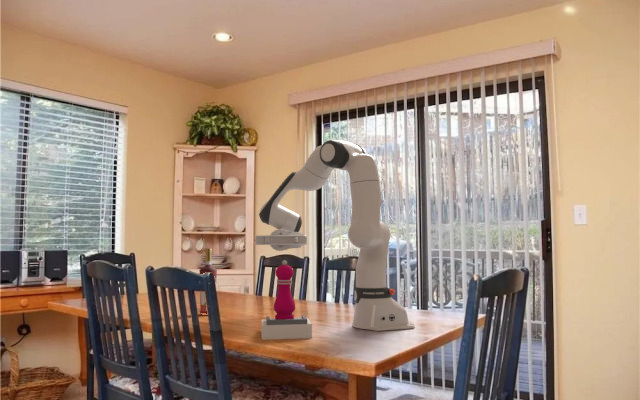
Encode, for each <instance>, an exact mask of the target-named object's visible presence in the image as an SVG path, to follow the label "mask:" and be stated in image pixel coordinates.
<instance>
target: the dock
mask: <svg viewBox="0 0 640 400" xmlns="http://www.w3.org/2000/svg"><path fill="white" fill-rule="evenodd" d="M260 326H261V327H260V329H261V332H260V333H261V340H262V341H264V340H265V341H268V340H289V339H290V340H294V339H299V340H300V339H313V323H312V322H311V321H310V319H309V318H307V317H306V315H305V314H301V317H294V319H282V320H275V318H270V316H269V315H267V316H265V319H261V324H260Z"/></svg>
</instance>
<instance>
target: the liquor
mask: <svg viewBox="0 0 640 400" xmlns="http://www.w3.org/2000/svg"><path fill="white" fill-rule="evenodd" d="M212 249H213V248H205V252H204V254H205V262H204V267H202V268H200V269H199V275H200V274H203V273H205V272H212V273H213V274H214V276H215V282H216V283H217V276H218V275H217V272H218V269H217V268H215V267H214V266H213V264H212V261H213V260H212V252H213V251H212ZM199 294H200V295H199V297H200V298H199V300H200V307H199V308H200V309H199V312H198V313H200V314H201V313H206V314H207V311H206V301H205V293H204V292H200V291H199Z"/></svg>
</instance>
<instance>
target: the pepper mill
mask: <svg viewBox="0 0 640 400" xmlns="http://www.w3.org/2000/svg"><path fill="white" fill-rule="evenodd" d="M275 276H276V278H277V279H276V281H277V282H276V284H277V286H278V291H277V295H276V297H275V299H274V303H273V311H274V312H275V315H274V319H275V320H282V319H294V318H295V315H294V314H293V313H294V311H296V303H295V299H294V298H293V295H292V291H291V290H292V289H291V287H292V286H291V285H292V283H293V282H292V281H293V279H292V277H293V276H294V269H293V267H292V266H291V265H289V264H288V261H287V260H285V259H283V260H282V261H281V265H279V266H278V267H277V268H276V269H275Z"/></svg>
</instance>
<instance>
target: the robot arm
mask: <svg viewBox="0 0 640 400" xmlns="http://www.w3.org/2000/svg"><path fill="white" fill-rule="evenodd" d="M334 169H338V170H341V171H346V172H347V173H348V176H349V184H350V187H349V188H350V195H351V216H350V217H351V218H350V226H349V228H348V234H347V235H348V240H349V241H350V243H351V244H353V246H354V247H356V248H358V249H359V253H358V258H357V262H356V263H355V287H354V302H355V304H354V305H355V306H354V307H355V309H354V314H353V320H352V324H351V327H353V328H356V329H362V330H371V331H375V332H376V331H377V332H381V331H393V330H395V331H396V330H406V329H407V330H408V329H414V328H415V323H414V322H412V321H410V320H409V317H408V316H409V315H408V313H407V310H406V309H405V307H404V306H402V305H401V304H400V303H399V302H397V300H396V299H393V297H392V296H394V295H395V293H396V290H395V288H390V287H388V286H387V259H388V252H389V244H390V240H391V230H390V228H389V226H388V225H387V224H386V223H385V222H384V221H381V220H380V218H381V217H380V216H381V207H382V203H383V202H382V194H381V193H382V192H381V184H380V175H379V170H378V166H377V163H376V160H375V158H374V157H373V156H372V155H370V154H368V153H367V151H366V149H365V148H364V147H362V146H361V145H359V144H356V143H352V142H349V141H347V140H339V139H329V140H326V141H325V142H323V144H322V145H319V146H317V147H316V148H315V149H314V150H313V151H312V152H311V154H309V157H308V158H307V160H306V161H305V163H304V165H303V167H301V169H299V170H298V171H292V172H291V173H290V174H288V176H287V177H286V178H285V179H284V180H283V181H282V183H281V184H280V185H279V186H278V188H276V190H275V192H273V194H272V195H271V197H270V198H269V199H268V200H266V202H265V203H264V204H263V205H262V206H261V208H260V209H259V213H258V216H259V219H260V221H261V223H263V224H265V225H268V226H271V227H273V228H275V230H274V231H272V232H271V233H270V234H269V235H261V234H260V235H258V234H257V235H255V238H254V242H255V246H270V247H271V248H272V249H273V250H275V251H278V252H282V251H287V250H290V249H298V248H299V249H300V248H302V247H303V246H306V245H308V237H307V234H304V233H302V232H300V230H301V227H302V225H303V219H302V217H301V215H300V214H298V213H297V212H295V211H293V210H291V209H289V208H287V207H285V206H283V205H281V204H280V202H281V200H282V199H283V198H284V197H285V196H286V194H287V193H288V192H289V191H291V190H300V191H305V192H307V191H308V192H314V191H317V190H321V188H322V187H323V186H324V185H325V183H326V182H327V180H328V178H330V177H329V176H331V173H332V172H333V170H334Z"/></svg>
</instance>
